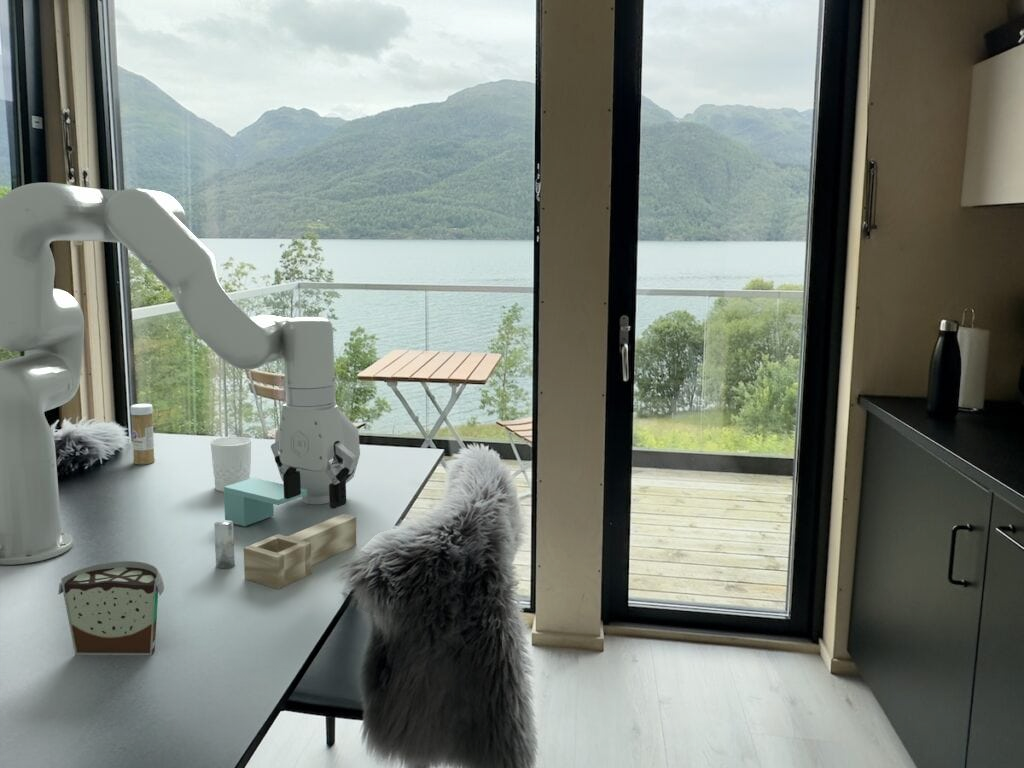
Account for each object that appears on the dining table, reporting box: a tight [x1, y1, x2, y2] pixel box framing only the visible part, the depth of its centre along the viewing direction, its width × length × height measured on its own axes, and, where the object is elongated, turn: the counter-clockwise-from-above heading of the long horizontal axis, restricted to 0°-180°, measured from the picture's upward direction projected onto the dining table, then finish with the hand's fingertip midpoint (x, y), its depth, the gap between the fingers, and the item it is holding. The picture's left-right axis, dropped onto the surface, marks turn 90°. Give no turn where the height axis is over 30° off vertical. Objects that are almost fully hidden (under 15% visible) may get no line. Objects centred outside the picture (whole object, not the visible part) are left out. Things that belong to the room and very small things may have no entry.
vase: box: [273, 396, 361, 505], centre depth 159 cm, size 17×16×28 cm
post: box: [213, 519, 236, 570], centre depth 127 cm, size 3×3×7 cm
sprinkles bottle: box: [129, 403, 156, 466], centre depth 183 cm, size 5×5×14 cm
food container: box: [57, 560, 165, 656], centre depth 102 cm, size 12×6×10 cm, turn 92°
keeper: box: [223, 477, 307, 527], centre depth 146 cm, size 7×14×6 cm, turn 61°
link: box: [243, 513, 357, 590], centre depth 129 cm, size 20×7×5 cm, turn 151°
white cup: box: [210, 436, 252, 493], centre depth 166 cm, size 8×8×10 cm
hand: (315, 501), depth 129 cm, fingers open, 9 cm apart
